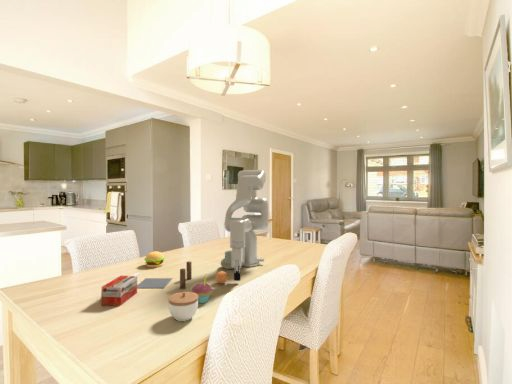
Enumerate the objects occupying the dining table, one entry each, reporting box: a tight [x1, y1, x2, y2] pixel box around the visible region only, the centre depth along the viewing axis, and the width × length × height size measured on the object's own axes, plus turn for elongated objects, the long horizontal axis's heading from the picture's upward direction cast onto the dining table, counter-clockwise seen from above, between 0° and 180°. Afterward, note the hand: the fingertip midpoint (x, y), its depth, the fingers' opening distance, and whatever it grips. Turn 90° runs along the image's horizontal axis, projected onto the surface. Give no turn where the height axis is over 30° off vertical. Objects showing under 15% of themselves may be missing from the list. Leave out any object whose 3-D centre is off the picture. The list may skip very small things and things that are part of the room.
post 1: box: [179, 268, 187, 290], centre depth 131 cm, size 3×3×9 cm
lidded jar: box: [168, 291, 199, 322], centre depth 101 cm, size 11×11×9 cm
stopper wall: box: [131, 272, 141, 280], centre depth 137 cm, size 2×18×2 cm, turn 1°
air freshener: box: [220, 250, 234, 270], centre depth 165 cm, size 11×8×10 cm
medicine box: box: [100, 275, 138, 307], centre depth 118 cm, size 15×8×8 cm, turn 178°
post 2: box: [185, 260, 193, 281], centre depth 144 cm, size 3×3×9 cm
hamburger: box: [144, 250, 166, 269], centre depth 169 cm, size 12×12×9 cm
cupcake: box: [191, 274, 213, 304], centre depth 116 cm, size 9×8×12 cm
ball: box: [215, 270, 228, 284], centre depth 138 cm, size 6×6×6 cm
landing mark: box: [137, 277, 173, 289], centre depth 137 cm, size 14×14×1 cm
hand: (237, 280), depth 138 cm, fingers closed
